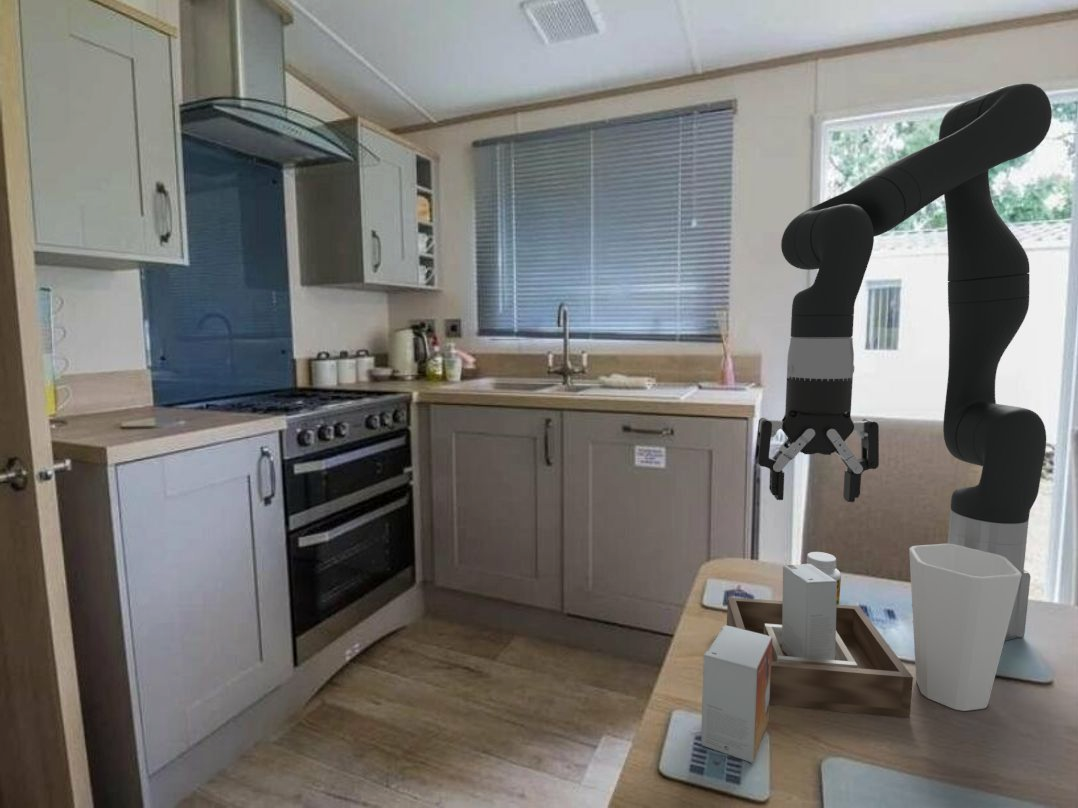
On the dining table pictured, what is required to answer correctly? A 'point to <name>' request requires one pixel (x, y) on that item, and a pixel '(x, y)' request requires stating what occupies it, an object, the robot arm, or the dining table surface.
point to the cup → (959, 621)
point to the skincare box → (808, 612)
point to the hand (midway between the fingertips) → (813, 499)
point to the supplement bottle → (826, 567)
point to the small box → (736, 692)
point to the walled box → (831, 664)
